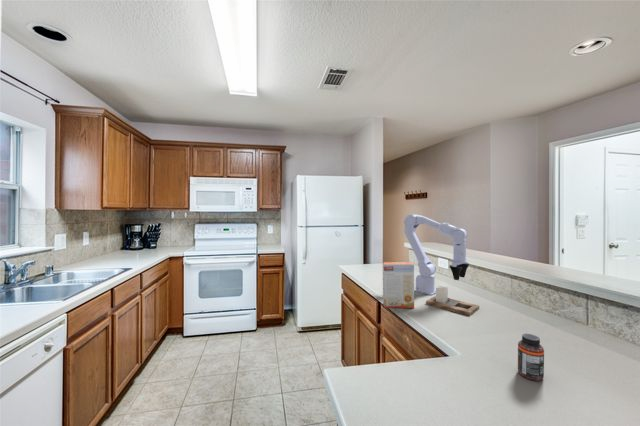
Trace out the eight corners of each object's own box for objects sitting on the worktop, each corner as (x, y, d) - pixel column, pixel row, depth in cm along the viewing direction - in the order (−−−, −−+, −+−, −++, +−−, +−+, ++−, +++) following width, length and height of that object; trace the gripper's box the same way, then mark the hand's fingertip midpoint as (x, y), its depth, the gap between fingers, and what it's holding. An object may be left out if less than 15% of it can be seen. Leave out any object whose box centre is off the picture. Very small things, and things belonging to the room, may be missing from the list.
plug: (435, 303, 136) (436, 287, 135) (439, 301, 138) (439, 285, 138) (444, 305, 133) (444, 289, 132) (447, 303, 135) (447, 287, 135)
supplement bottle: (518, 366, 83) (518, 329, 83) (543, 374, 79) (544, 335, 79) (516, 376, 79) (517, 337, 78) (543, 385, 75) (544, 343, 74)
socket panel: (425, 304, 135) (425, 301, 135) (436, 298, 143) (436, 295, 143) (469, 316, 121) (469, 312, 120) (479, 308, 129) (479, 305, 129)
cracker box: (411, 304, 135) (411, 261, 135) (414, 308, 129) (414, 264, 129) (382, 303, 137) (382, 261, 136) (384, 307, 131) (384, 264, 130)
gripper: (462, 255, 134) (462, 282, 135) (473, 251, 144) (472, 277, 144) (447, 253, 139) (447, 279, 140) (458, 249, 149) (458, 274, 150)
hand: (459, 278), depth 143 cm, fingers open, 7 cm apart
